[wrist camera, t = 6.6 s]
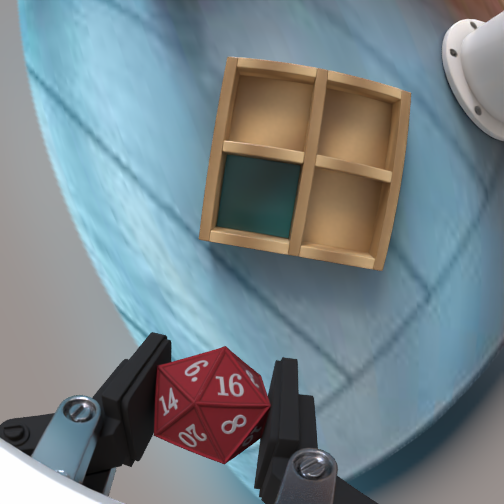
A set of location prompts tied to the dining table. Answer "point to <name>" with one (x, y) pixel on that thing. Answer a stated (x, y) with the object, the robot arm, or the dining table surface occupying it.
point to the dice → (210, 404)
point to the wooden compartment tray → (305, 163)
